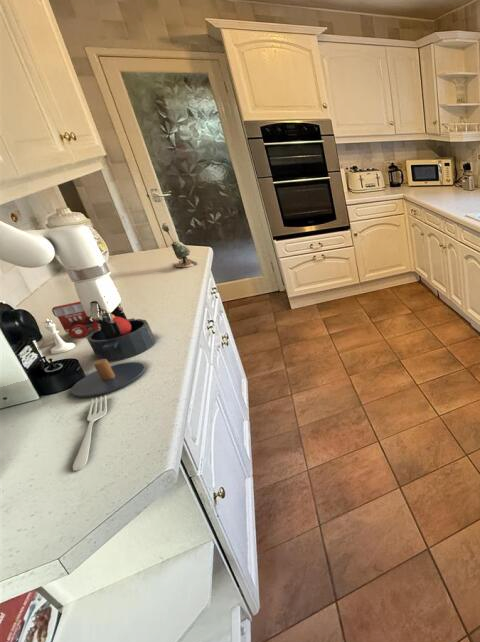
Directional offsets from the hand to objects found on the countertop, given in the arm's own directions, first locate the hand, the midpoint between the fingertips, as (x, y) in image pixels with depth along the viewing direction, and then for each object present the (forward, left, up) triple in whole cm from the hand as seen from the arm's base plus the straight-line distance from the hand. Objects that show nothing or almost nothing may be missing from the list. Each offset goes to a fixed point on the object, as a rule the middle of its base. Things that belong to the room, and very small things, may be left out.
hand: (117, 330), depth 112 cm
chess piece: (-17, +10, -7) cm, 21 cm away
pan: (0, 0, -6) cm, 6 cm away
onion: (0, 0, -3) cm, 3 cm away
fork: (+4, -40, -7) cm, 41 cm away
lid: (+1, -18, -6) cm, 19 cm away
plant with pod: (+1, +80, -7) cm, 80 cm away
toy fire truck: (-13, +20, -7) cm, 25 cm away
